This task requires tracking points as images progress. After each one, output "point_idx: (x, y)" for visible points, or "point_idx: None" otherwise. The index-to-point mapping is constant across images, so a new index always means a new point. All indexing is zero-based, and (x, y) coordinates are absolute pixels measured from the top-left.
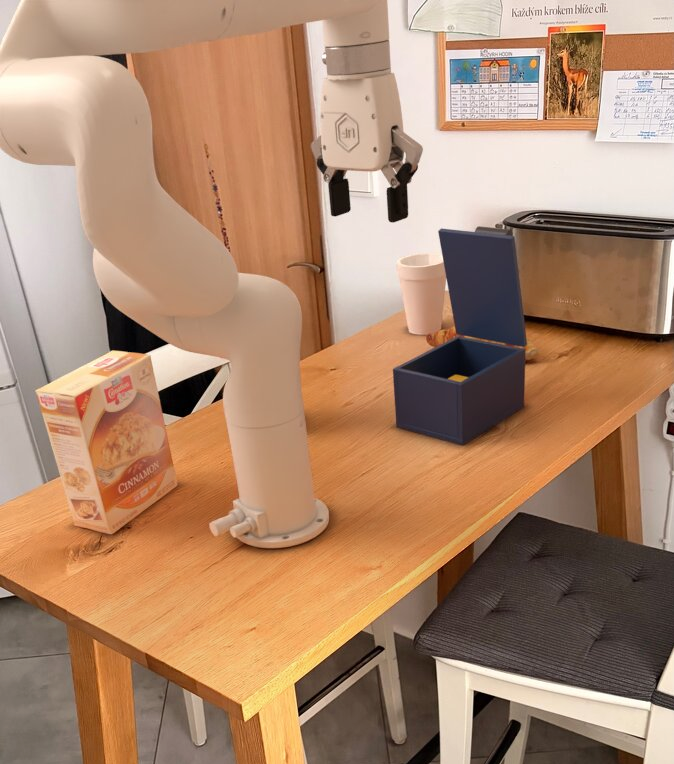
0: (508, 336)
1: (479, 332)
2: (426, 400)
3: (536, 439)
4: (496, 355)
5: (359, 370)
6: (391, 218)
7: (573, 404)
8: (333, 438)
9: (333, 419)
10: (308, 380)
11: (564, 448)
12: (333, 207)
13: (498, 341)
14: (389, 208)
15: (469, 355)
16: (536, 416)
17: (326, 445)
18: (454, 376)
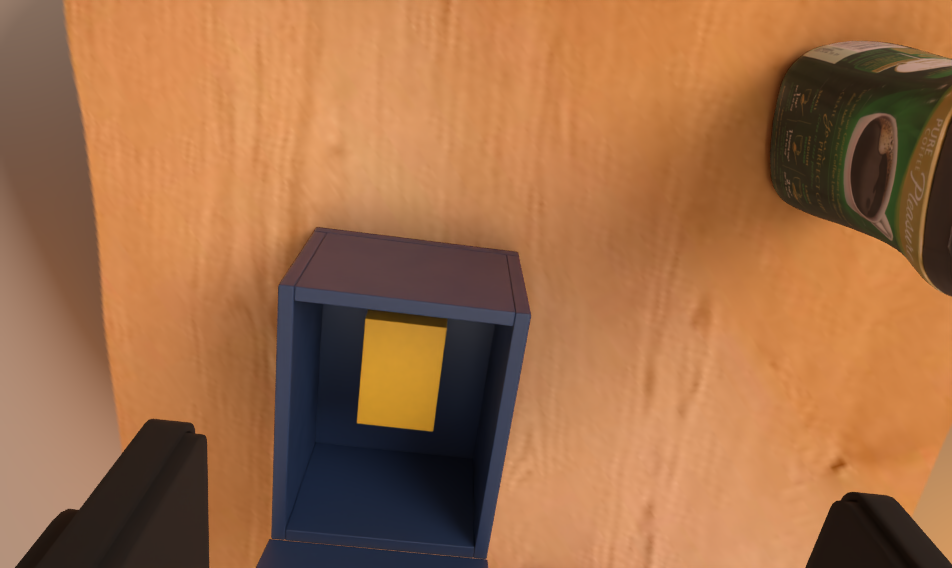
0: (311, 556)
1: (406, 562)
2: (413, 272)
3: (189, 317)
4: (357, 517)
5: (769, 482)
6: (145, 433)
7: (221, 487)
8: (635, 134)
9: (693, 229)
10: (872, 395)
11: (111, 301)
12: (894, 543)
13: (349, 547)
14: (122, 494)
15: (441, 515)
16: (256, 413)
17: (631, 91)
18: (427, 419)
